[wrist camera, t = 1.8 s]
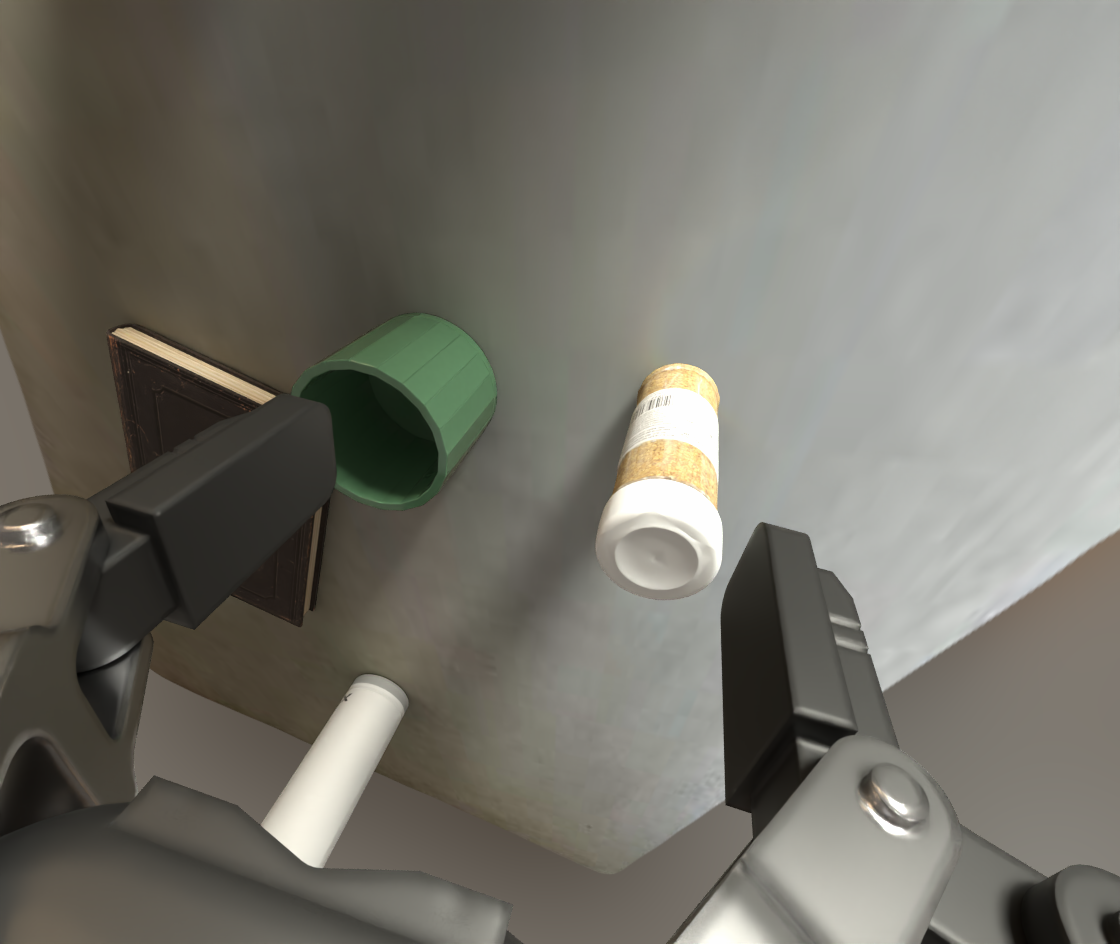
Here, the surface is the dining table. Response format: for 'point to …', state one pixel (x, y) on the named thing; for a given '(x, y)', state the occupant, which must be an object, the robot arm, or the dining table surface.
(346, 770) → the travel mug
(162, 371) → the hardcover book
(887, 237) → the dining table surface
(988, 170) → the dining table surface
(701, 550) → the sprinkles bottle
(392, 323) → the cup
